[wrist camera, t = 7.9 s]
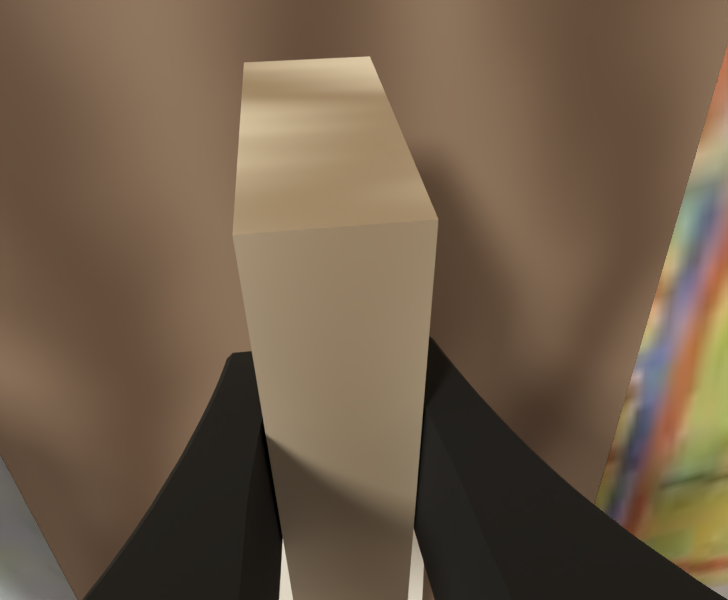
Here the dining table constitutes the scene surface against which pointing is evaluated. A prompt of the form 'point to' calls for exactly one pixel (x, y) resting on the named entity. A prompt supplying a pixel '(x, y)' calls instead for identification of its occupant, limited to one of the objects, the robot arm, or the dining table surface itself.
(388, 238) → the beige long rectangular bar
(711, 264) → the dining table surface
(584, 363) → the board
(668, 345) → the dining table surface
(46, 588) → the dining table surface
